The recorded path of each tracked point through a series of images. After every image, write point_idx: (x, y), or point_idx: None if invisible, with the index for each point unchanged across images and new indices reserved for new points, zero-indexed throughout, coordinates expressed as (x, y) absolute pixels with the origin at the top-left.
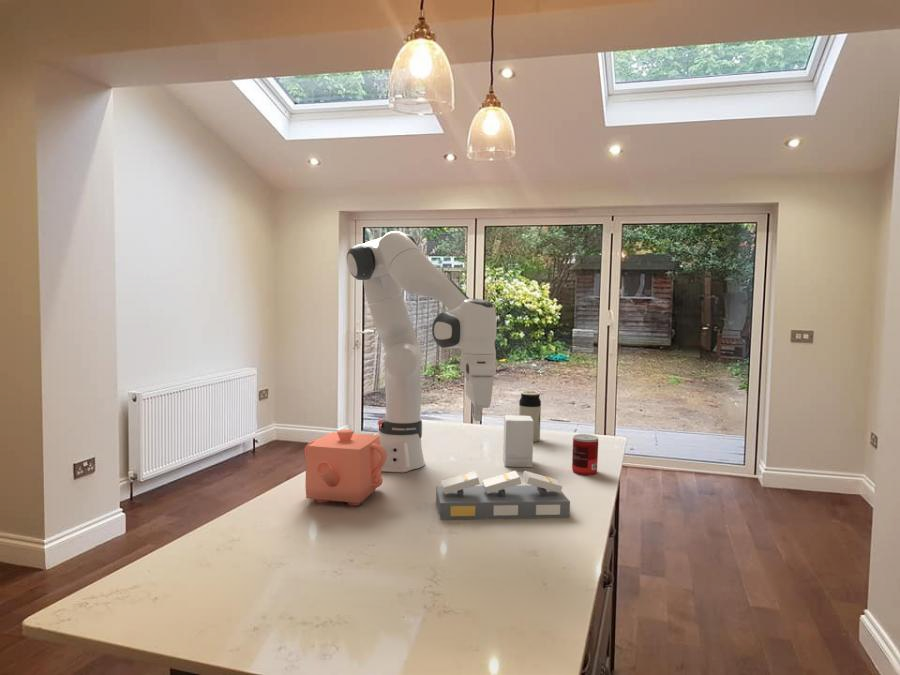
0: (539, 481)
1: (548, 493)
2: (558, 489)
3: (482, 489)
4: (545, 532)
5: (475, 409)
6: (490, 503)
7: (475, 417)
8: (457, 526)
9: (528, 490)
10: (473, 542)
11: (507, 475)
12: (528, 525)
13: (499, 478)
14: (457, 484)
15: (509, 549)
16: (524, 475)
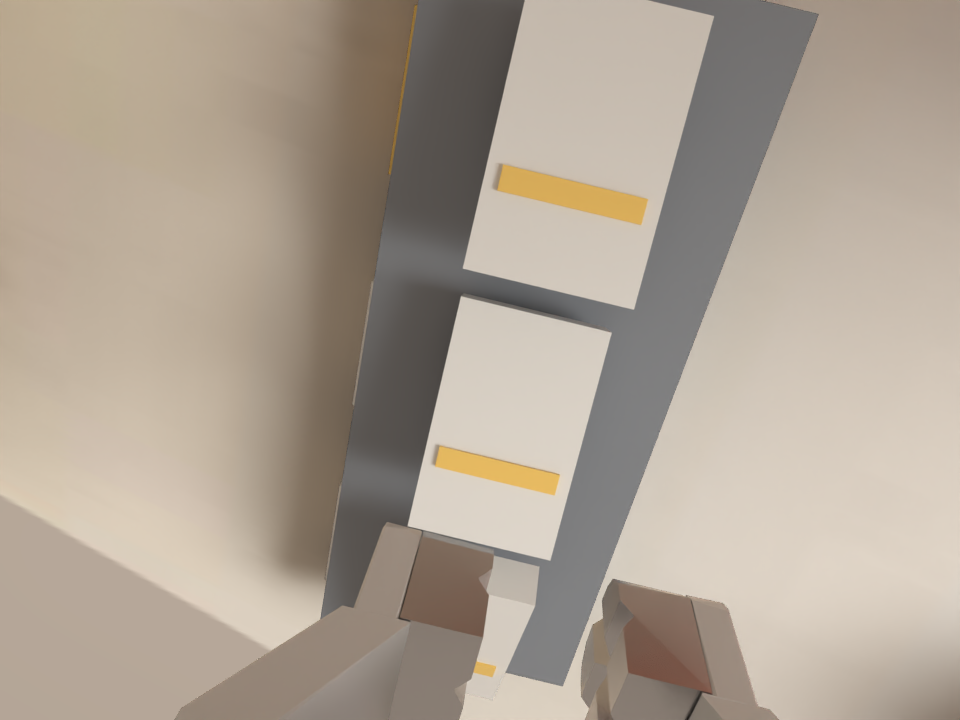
0: None
1: None
2: None
3: (622, 319)
4: (187, 410)
5: (225, 696)
6: (376, 269)
7: (367, 571)
8: (316, 15)
9: None
10: (86, 27)
11: (515, 487)
12: (275, 380)
13: (518, 429)
14: (503, 98)
15: (3, 176)
16: (501, 577)
